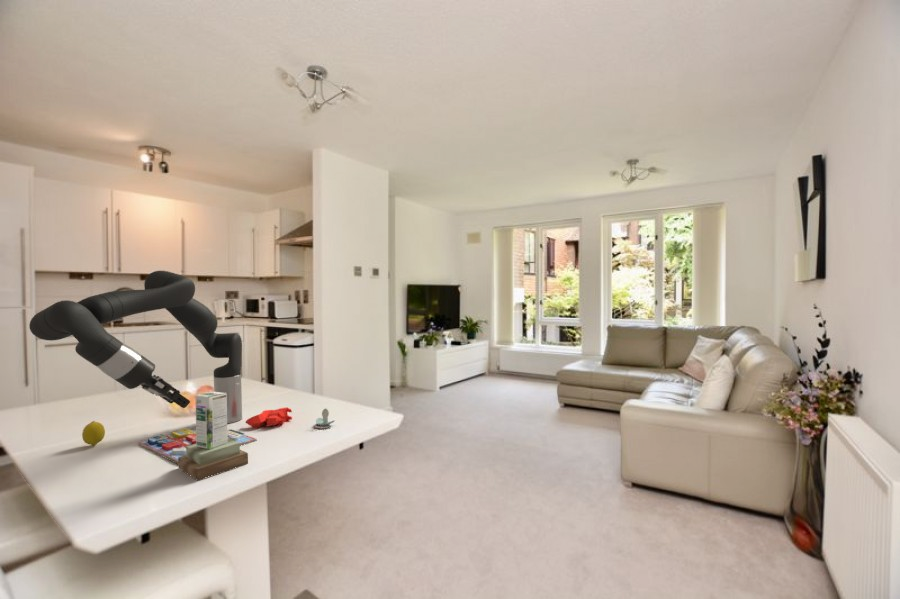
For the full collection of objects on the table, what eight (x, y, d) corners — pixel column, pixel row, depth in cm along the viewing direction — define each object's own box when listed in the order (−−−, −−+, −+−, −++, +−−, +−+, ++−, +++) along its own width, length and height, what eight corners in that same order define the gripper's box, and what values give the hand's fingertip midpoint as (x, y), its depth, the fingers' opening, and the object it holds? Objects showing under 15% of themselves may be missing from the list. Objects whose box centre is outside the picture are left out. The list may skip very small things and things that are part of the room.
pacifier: (324, 431, 144) (337, 425, 150) (323, 413, 144) (336, 408, 149) (309, 428, 148) (322, 422, 153) (309, 410, 148) (321, 406, 153)
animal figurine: (241, 428, 150) (241, 414, 150) (281, 417, 161) (281, 404, 161) (255, 434, 142) (255, 420, 142) (296, 422, 153) (296, 409, 153)
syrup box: (195, 447, 114) (193, 395, 114) (214, 440, 119) (213, 390, 119) (209, 450, 112) (208, 396, 111) (228, 442, 117) (227, 391, 117)
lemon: (80, 450, 129) (79, 425, 129) (85, 444, 134) (85, 420, 134) (102, 447, 132) (101, 422, 132) (107, 441, 137) (106, 417, 137)
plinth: (178, 468, 115) (177, 446, 115) (227, 453, 125) (226, 433, 125) (198, 480, 107) (197, 457, 107) (248, 463, 117) (247, 442, 117)
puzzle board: (257, 442, 136) (257, 434, 135) (180, 467, 117) (180, 458, 117) (211, 426, 153) (211, 419, 153) (138, 446, 134) (137, 438, 134)
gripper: (149, 355, 98) (202, 394, 107) (129, 351, 106) (180, 387, 115) (122, 381, 93) (180, 419, 103) (104, 375, 102) (159, 410, 111)
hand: (180, 402), depth 109 cm, fingers open, 8 cm apart
